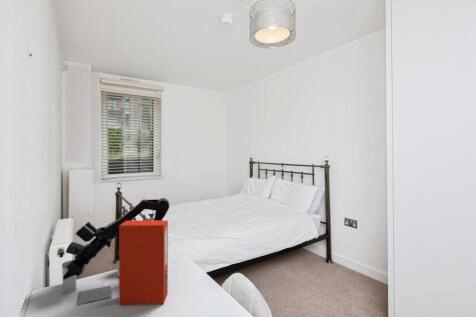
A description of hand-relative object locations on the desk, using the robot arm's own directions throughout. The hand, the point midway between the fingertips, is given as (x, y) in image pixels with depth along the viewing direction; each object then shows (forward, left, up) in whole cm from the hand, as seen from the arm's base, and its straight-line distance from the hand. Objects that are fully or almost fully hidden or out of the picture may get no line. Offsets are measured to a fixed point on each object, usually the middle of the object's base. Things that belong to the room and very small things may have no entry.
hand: (65, 275), depth 112 cm
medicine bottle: (-25, -5, -7) cm, 27 cm away
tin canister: (-1, 0, -7) cm, 7 cm away
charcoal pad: (-11, +10, -7) cm, 16 cm away
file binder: (-29, +22, -7) cm, 37 cm away
